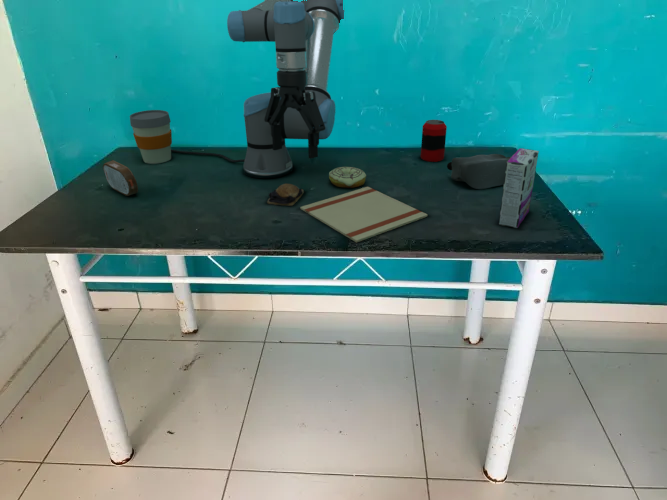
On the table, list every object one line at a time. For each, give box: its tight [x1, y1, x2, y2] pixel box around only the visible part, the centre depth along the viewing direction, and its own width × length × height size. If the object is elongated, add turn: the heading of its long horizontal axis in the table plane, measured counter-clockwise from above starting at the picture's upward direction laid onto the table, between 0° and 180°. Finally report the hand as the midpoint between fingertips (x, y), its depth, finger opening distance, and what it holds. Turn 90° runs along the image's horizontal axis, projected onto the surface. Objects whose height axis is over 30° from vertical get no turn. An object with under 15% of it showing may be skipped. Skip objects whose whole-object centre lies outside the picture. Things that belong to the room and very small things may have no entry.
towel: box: [299, 186, 428, 244], centre depth 135 cm, size 24×23×1 cm
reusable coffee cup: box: [129, 109, 173, 165], centre depth 172 cm, size 13×13×15 cm
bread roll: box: [266, 183, 305, 207], centre depth 144 cm, size 11×8×4 cm
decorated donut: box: [328, 166, 367, 189], centre depth 153 cm, size 10×11×4 cm
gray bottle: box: [446, 153, 511, 190], centre depth 151 cm, size 18×11×8 cm, turn 104°
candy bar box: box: [498, 148, 540, 229], centre depth 127 cm, size 11×5×16 cm, turn 148°
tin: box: [102, 159, 139, 197], centre depth 149 cm, size 15×3×8 cm, turn 47°
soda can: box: [420, 119, 448, 163], centre depth 169 cm, size 8×8×12 cm
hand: (294, 153), depth 139 cm, fingers open, 13 cm apart
